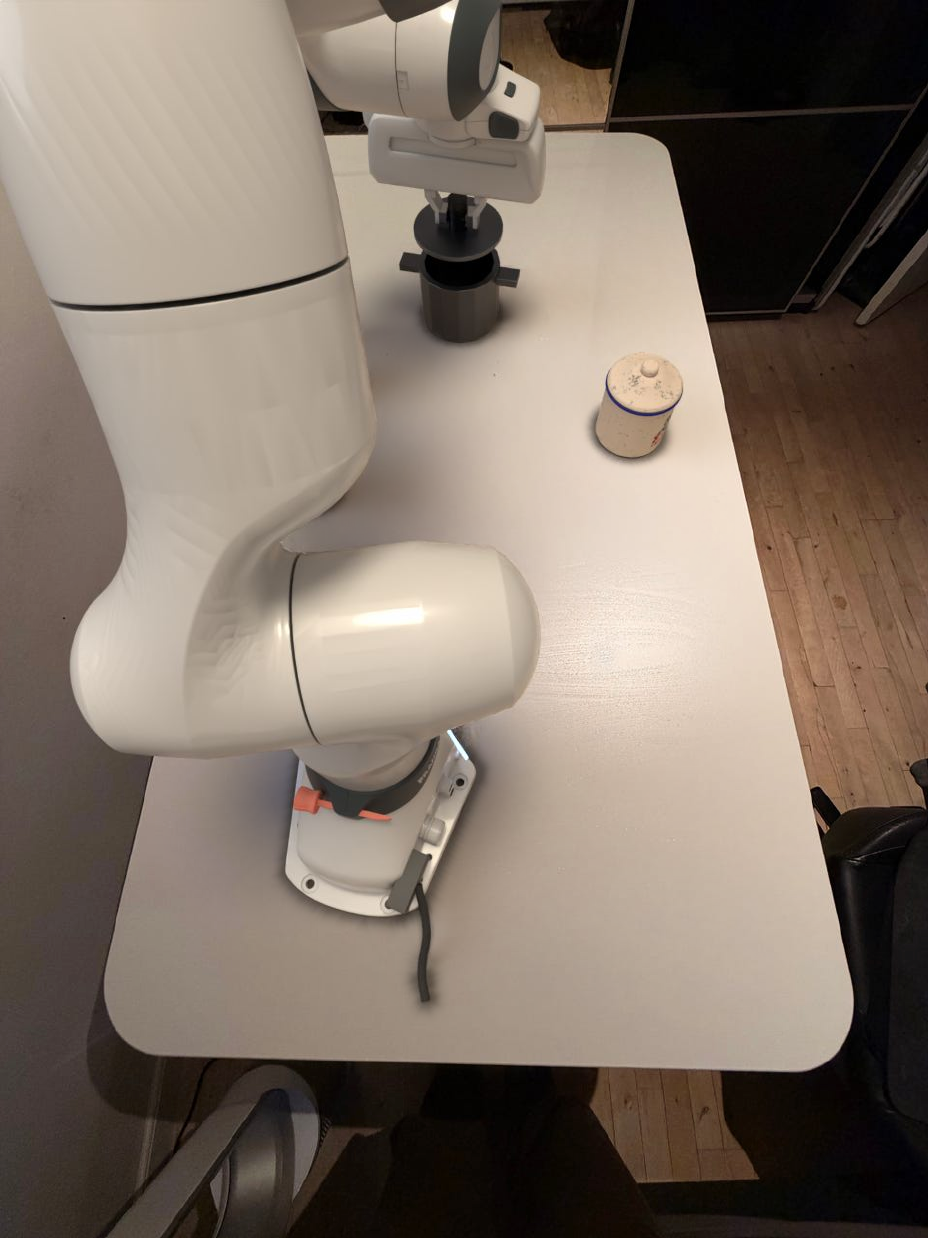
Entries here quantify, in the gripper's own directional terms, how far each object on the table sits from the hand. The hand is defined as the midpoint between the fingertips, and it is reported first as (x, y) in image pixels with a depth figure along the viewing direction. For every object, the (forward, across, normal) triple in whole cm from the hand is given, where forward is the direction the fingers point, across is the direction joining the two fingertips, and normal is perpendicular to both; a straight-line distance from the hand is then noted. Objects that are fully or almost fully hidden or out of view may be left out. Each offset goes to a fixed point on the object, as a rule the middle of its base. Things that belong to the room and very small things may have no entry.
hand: (457, 223), depth 79 cm
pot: (+14, 0, 0) cm, 14 cm away
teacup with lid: (+14, +26, -14) cm, 33 cm away
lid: (+1, 0, 0) cm, 1 cm away
